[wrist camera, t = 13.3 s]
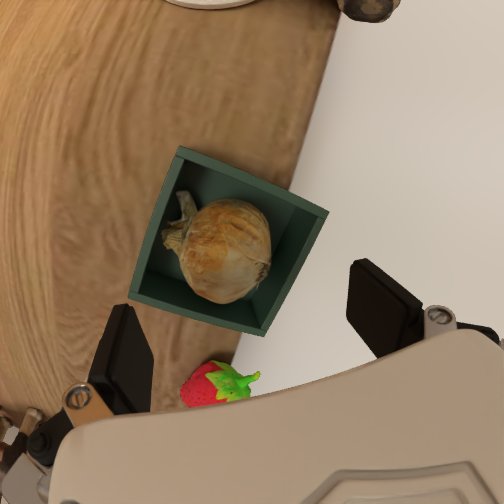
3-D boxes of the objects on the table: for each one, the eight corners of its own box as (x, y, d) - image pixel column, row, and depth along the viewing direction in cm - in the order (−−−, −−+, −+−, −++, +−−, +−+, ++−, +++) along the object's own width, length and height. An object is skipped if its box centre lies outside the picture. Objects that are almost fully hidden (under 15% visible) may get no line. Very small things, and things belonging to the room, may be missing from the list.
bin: (183, 146, 20) (179, 145, 16) (304, 199, 24) (329, 211, 19) (138, 270, 23) (127, 298, 18) (252, 306, 27) (264, 337, 22)
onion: (273, 244, 25) (189, 252, 26) (263, 169, 19) (160, 184, 20) (277, 319, 20) (176, 323, 21) (267, 246, 14) (130, 259, 15)
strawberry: (207, 438, 26) (284, 406, 25) (161, 409, 23) (244, 372, 22) (205, 401, 31) (273, 369, 30) (165, 370, 28) (237, 331, 27)
